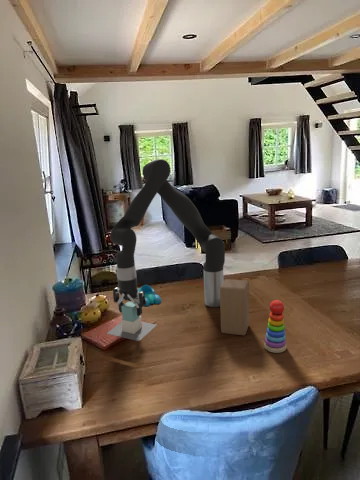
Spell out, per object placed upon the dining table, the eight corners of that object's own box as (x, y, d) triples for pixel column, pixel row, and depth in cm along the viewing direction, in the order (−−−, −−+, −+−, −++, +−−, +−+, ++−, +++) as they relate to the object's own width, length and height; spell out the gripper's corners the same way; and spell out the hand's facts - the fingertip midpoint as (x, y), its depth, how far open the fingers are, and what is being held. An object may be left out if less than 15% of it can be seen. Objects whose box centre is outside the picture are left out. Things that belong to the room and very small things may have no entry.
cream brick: (142, 327, 153) (141, 316, 152) (134, 333, 148) (133, 322, 147) (130, 324, 156) (129, 313, 155) (122, 331, 151) (120, 320, 149)
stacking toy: (282, 356, 129) (283, 307, 124) (261, 350, 133) (261, 303, 128) (289, 345, 135) (290, 298, 131) (268, 340, 140) (268, 295, 135)
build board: (157, 326, 155) (157, 324, 154) (139, 343, 143) (139, 341, 142) (126, 320, 162) (126, 318, 161) (106, 335, 150) (106, 333, 150)
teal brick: (139, 316, 152) (138, 303, 150) (132, 321, 147) (131, 308, 146) (129, 314, 154) (128, 301, 152) (122, 319, 150) (121, 306, 148)
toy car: (152, 290, 194) (151, 278, 192) (163, 303, 178) (163, 290, 176) (132, 294, 190) (131, 282, 188) (142, 308, 174) (141, 295, 172)
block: (249, 324, 152) (249, 279, 147) (245, 336, 143) (245, 289, 138) (225, 322, 155) (224, 278, 150) (220, 333, 146) (219, 287, 141)
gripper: (147, 275, 146) (150, 312, 150) (118, 271, 152) (121, 307, 156) (136, 282, 139) (140, 320, 144) (106, 277, 146) (111, 314, 150)
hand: (130, 313), depth 150 cm, fingers open, 8 cm apart
